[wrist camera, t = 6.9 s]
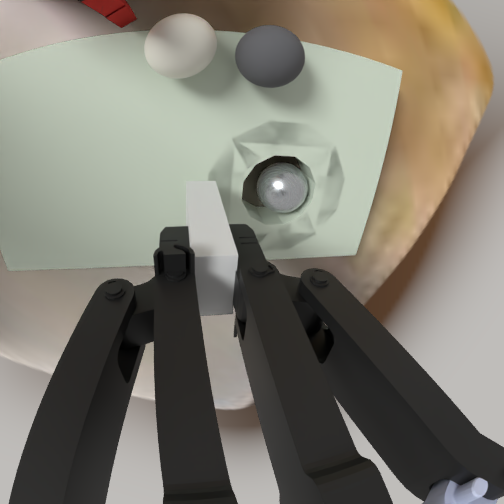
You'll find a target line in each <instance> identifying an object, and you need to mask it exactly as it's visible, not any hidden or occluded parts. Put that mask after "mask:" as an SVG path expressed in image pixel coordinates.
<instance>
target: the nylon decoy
mask: <svg viewBox="0 0 504 504" xmlns="http://www.w3.org/2000/svg"><path fill="white" fill-rule="evenodd" d="M216 49H217V38H216V34H215V31H214V30H213V28H212V26H211V25H210V24H209V23H208V22H207V21H206V20H204V19H203V18H201V17H199V16H197V15H193V14H187V13H180V14H174V15H171V16H168V17H166V18H164V19H162V20H160V21H159V22H158V23H157V24H155V25H154V26H153V28H152V29H151V30H150V32H149V33H148V35H147V37H146V40H145V45H144V53H145V57H146V60H147V62H148V64H149V65H150V67H151V68H152V69H153V70H154V71H155V72H157V73H158V74H160V75H162V76H165V77H168V78H175V79H180V78H187V77H191V76H193V75H195V74H197V73H199V72H201V71H202V70H203V69H205V68H206V67H207V66H208V65H209V64H210V62H211V61H212V59H213V57H214V55H215V53H216Z"/></svg>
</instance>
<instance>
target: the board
mask: <svg viewBox="0 0 504 504" xmlns="http://www.w3.org/2000/svg"><path fill="white" fill-rule="evenodd" d="M214 31H215V30H214ZM149 32H150V30H148V31H134V32H123V33H114V34H106V35H99V36H92V37H86V38H81V39H75V40H70V41H65V42H61V43H56V44H52V45H48V46H44V47H40V48H36V49H33V50H29V51H26V52H23V53H19V54H16V55H13V56H10V57H7V58H4V59H1V60H0V250H1V253H2V256H3V258H4V261H5V264H6V266H7V269H8V271H23V270H53V269H80V268H106V267H130V266H153V265H154V258H153V254H154V252H155V250H156V249H157V248H159V240H160V233H161V231H162V230H163V229H164V228H165V227H175V226H186V181H216V184H217V187H218V191H219V194H220V197H221V201H222V204H223V207H224V210H225V214H226V217H227V220H228V223H229V224H247V225H248V226H249V227H250V228H252V229H253V230H254V233H255V235H256V238H257V240H258V242H259V244H260V247H261V249H262V251H263V254H264V256H265V258H266V260H277V259H295V258H313V257H331V256H349V255H356V252H357V249H358V246H359V243H360V240H361V237H362V234H363V231H364V228H365V225H366V222H367V218H368V215H369V212H370V208H371V205H372V202H373V198H374V195H375V191H376V188H377V184H378V180H379V177H380V173H381V169H382V165H383V161H384V157H385V153H386V149H387V145H388V141H389V137H390V132H391V128H392V123H393V118H394V114H395V109H396V104H397V99H398V93H399V88H400V82H401V76H402V70H399V69H397V68H394V67H391V66H388V65H386V64H383V63H380V62H377V61H374V60H371V59H368V58H365V57H361V56H358V55H355V54H351V53H348V52H344V51H340V50H337V49H333V48H329V47H325V46H320V45H316V44H311V43H307V42H302V41H300V42H301V43H302V45H303V48H304V52H305V63H304V66H303V69H302V71H301V73H300V74H299V75H298V76H297V77H296V79H294V80H293V81H292V82H290V83H288V84H286V85H284V86H281V87H276V88H265V87H261V86H257V85H255V84H253V83H251V82H250V81H248V80H247V79H246V78H245V77H244V76H243V75H242V74H241V73H240V71H239V69H238V67H237V65H236V61H235V51H236V47H237V44H238V42H239V41H240V39H241V38H242V37H243V36H244V35H245V34H246V33H241V32H230V31H215V34H216V38H217V49H216V53H215V55H214V57H213V59H212V61H211V62H210V64H209V65H208V66H207V67H206V68H205V69H203V70H202V71H201V72H199V73H197V74H195V75H193V76H191V77H187V78H180V79H175V78H168V77H165V76H162V75H160V74H158V73H157V72H155V71H154V70H153V69H152V68H151V67H150V65H149V64H148V62H147V60H146V57H145V53H144V45H145V40H146V37H147V35H148V33H149ZM275 155H277V156H293V157H296V158H297V161H298V164H299V166H300V169H301V171H302V173H303V174H304V176H305V178H306V180H307V185H308V191H307V196H306V198H305V200H304V202H303V203H302V204H301V206H299V207H298V208H297V209H295V210H293V211H291V212H287V213H278V212H274V211H271V210H270V209H268V208H267V207H255V206H254V205H252V204H250V203H248V202H246V201H245V200H243V199H242V191H243V182H244V180H245V179H246V177H247V176H248V175H249V173H250V172H251V170H252V169H253V168H254V166H255V165H256V164H258V163H260V162H262V161H264V160H266V159H268V158H270V157H273V156H275Z"/></svg>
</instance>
